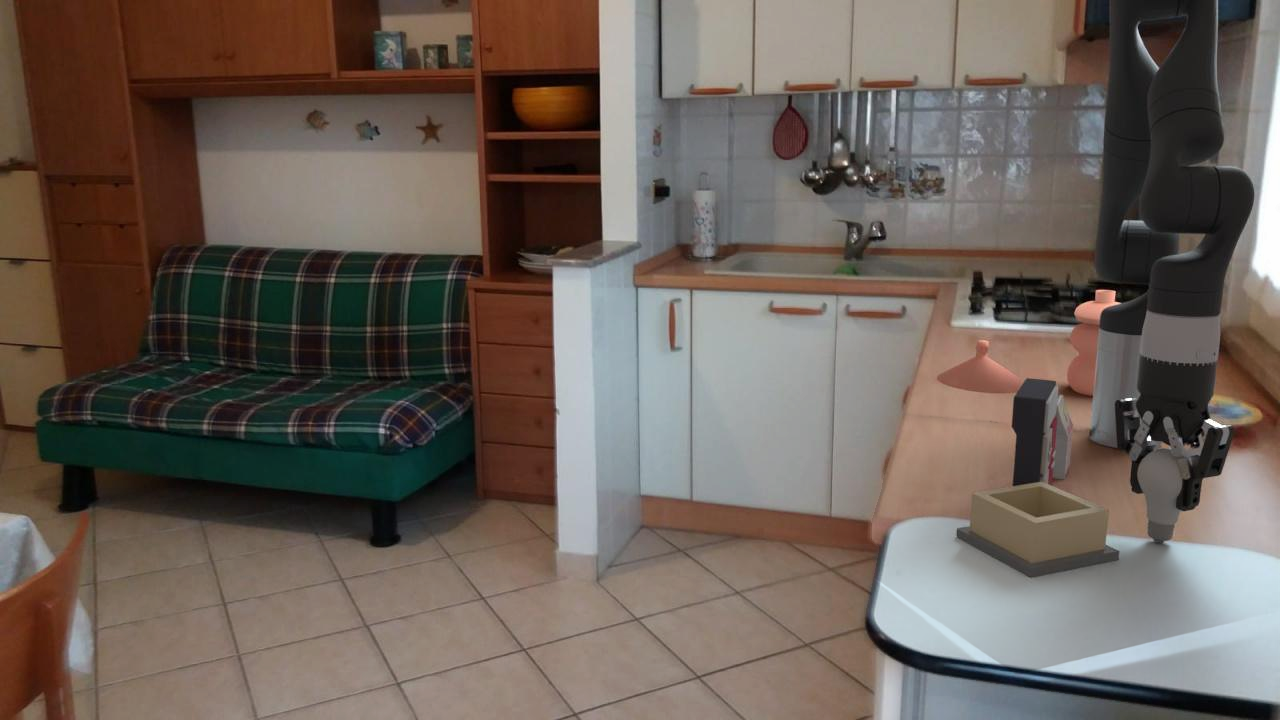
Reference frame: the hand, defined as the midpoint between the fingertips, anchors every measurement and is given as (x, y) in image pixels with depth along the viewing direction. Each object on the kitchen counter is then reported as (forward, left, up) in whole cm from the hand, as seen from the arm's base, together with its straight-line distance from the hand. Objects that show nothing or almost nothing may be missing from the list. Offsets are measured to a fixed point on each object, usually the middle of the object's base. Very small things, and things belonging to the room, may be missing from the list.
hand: (1162, 499), depth 114 cm
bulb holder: (+14, -4, -5) cm, 15 cm away
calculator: (+5, -15, -5) cm, 16 cm away
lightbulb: (0, 0, -5) cm, 5 cm away
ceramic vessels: (-34, -61, -5) cm, 70 cm away
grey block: (-7, -24, -5) cm, 26 cm away
